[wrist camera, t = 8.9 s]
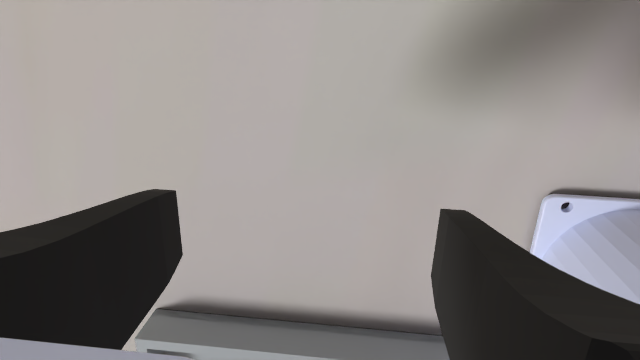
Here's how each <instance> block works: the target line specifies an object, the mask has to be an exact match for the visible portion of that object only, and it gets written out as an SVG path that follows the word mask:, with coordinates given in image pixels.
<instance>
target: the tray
mask: <svg viewBox="0 0 640 360" xmlns="http://www.w3.org/2000/svg"><path fill="white" fill-rule="evenodd" d="M135 344H136V350H137V352H144V353H153V354H163V355H173V356H182V357H188V358H191V359H194V360H450V359H449V356H448V352H447V348H446V345H445V341H444V338H443V336H438V335H427V334H417V333H406V332H396V331H385V330H374V329H364V328H353V327H343V326H332V325H322V324H311V323H300V322H290V321H279V320H269V319H258V318H247V317H237V316H226V315H216V314H205V313H195V312H184V311H173V310H163V309H156V310H155V311H154V313H153V314H152V315H151V317H150V318H149V319H148V321H147V322H146V324H145V325H144V326H143V328H142V329H141V331H140V332H139V333H138V335H137V336H136V338H135Z"/></svg>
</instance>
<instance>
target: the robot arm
mask: <svg viewBox="0 0 640 360" xmlns="http://www.w3.org/2000/svg"><path fill="white" fill-rule="evenodd" d="M566 202H569V206H568V207H567V208H565V209H561V206H562V204H564V203H566ZM182 255H183V254H182V244H181V235H180V225H179V216H178V206H177V197H176V191H174V190H159V189H153V190H147V191H142V192H138V193H135V194H132V195H128V196H125V197H122V198H119V199H116V200H113V201H110V202H107V203H104V204H101V205H98V206H95V207H92V208H89V209H86V210H82V211H79V212H76V213H72V214H69V215H66V216H63V217H59V218H56V219H53V220H49V221H46V222H42V223H39V224H35V225H31V226H27V227H23V228H18V229H14V230H10V231H5V232H1V233H0V360H194V359H191V358H188V357H182V356H173V355H163V354H153V353H144V352H134V351H125V350H121V349H122V348H123V346H124V345H125V344H126V342H127V341H128V340H129V338H130V337H131V335H132V334H133V333H134V331H135V330H136V328H137V327H138V326H139V324H140V323H141V321H142V320H143V319H144V317H145V316H146V315H147V313H148V312H149V310H150V309H151V308H152V306H153V305H154V303H155V302H156V301H157V299H158V298H159V296H160V295H161V293H162V292H163V291H164V289H165V288H166V286H167V285H168V283H169V281H170V279H171V278H172V276H173V274H174V272H175V270H176V268H177V266H178V264H179V261H180V259H181V257H182ZM431 279H432V287H433V295H434V303H435V309H436V312H437V316H438V320H439V323H440V327H441V331H442V334H443V338H444V341H445V345H446V348H447V352H448V356H449V359H450V360H640V199H629V198H613V197H598V196H582V195H567V194H550V195H548V196H546V197H545V198H544V199H543V201H542V203H541V207H540V211H539V215H538V220H537V224H536V228H535V232H534V236H533V241H532V245H531V249H530V252H528V251H526V250H525V249H523V248H521V247H520V246H518V245H517V244H515V243H514V242H512V241H511V240H509V239H508V238H506V237H505V236H503V235H502V234H500V233H499V232H497V231H496V230H494V229H493V228H492V227H490V226H489V225H487V224H486V223H484V222H483V221H481V220H480V219H478V218H477V217H475V216H474V215H472V214H471V213H469V212H467V211H465V210H451V209H441V210H440V217H439V224H438V231H437V238H436V245H435V252H434V259H433V266H432V272H431Z"/></svg>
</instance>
